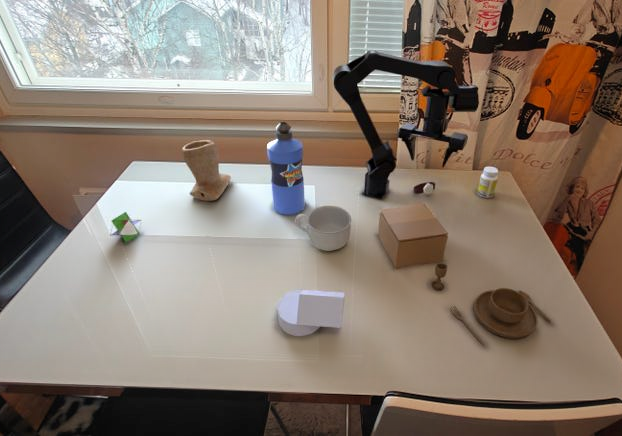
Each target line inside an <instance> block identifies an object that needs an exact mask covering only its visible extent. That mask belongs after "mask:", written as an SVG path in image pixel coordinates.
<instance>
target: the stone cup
mask: <svg viewBox="0 0 622 436" xmlns="http://www.w3.org/2000/svg"><path fill="white" fill-rule="evenodd" d="M181 152H182V157H183V160H184V162H185V164H186V166H187V167H188V169H189V171H190V172H191V174H192V175H193V177H194V179H195V184H194V186H193V187H192V189H191V190H190V192H189V195H190V196H191V197H194V198H196V199H198V200H200V201H205V202H210V201H211V202H212V201H216V200H217V199H219V198H220V196H221V195H222V194H223V192H224V191H225V190H226V189H227V187H228V186H229V184H230V182H231V179H232V176H231V175H230V174H225V173H220V170H219V169H220V168H219V166H220V163H219V162H220V159H219V153H218V150H217V147H216V144H215V143H214V142H213V140H210V139H203V140H195V141H192V142H189V143H187V144H185V145H184V146H183V147H182V149H181Z"/></svg>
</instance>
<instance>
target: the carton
mask: <svg viewBox="0 0 622 436" xmlns="http://www.w3.org/2000/svg"><path fill="white" fill-rule="evenodd" d="M448 235H449V232H448V231H447V230H446V229H445V227H444V226H443V225H442V223H441V222H440V220H438V218H437V217H435V218H431V219H423V220H416V221H409V222H401V223H394V224H389V225H388V223H387V221H386V220H385V218H384V216H383V214H382V213H381V211H379V219H378V231H377V237H378V239H379V240H380V242H381V244H382V246H383V248H384V250H385V252H386V253H387V256H388V257H389V259H390V261H391V263H392V265H393V266H394V268H395V269H400V268H407V267H414V266H420V265H426V264H432V263H440V262H443V260H444V255H445V252H446V246H447V243H448V237H449V236H448Z"/></svg>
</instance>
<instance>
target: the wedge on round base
mask: <svg viewBox="0 0 622 436" xmlns="http://www.w3.org/2000/svg"><path fill="white" fill-rule="evenodd" d="M345 297H346V293H345V292H341V291H340V292H337V291H327V290H326V291H324V290H312V289H311V290H310V289H297V290H292V291H290V292H288V293H286V294H284V295H283V296H282V297H281V298H280V300H279V301H278V303H277V307H276V308H277V309H276V310H277V311H276V312H277V318H278V319H277V320H278V324H279V327H280V328H281V329H282V330H283V332H284V333H286V334H288V335H291V336H293V337H294V336H295V337H305V336H309V335H311V334H314V333H315V332H317V331H318V330H319V329H320V327H324V328H336V329H337V328H338V329H342V326H343V317H344V308H345Z"/></svg>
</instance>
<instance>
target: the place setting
mask: <svg viewBox="0 0 622 436" xmlns="http://www.w3.org/2000/svg"><path fill="white" fill-rule="evenodd" d="M447 271H448V265H447V264H446V263H444V262H436V264H435V268H434V275H435V277H437V278H436V280H434V281H432V282H431V284H430V286H431V288H432V289H433V290H434V291H439V292H440V291H443V290H444V289H445V285H444V283H443V282H442V278H445V277H446V275H447ZM473 307H474V308H473V310H474V313H475V316H476V318H477V320H478V321H479V322H480V324H481V325H482V326H484V327H485V328H486V329H487V330H489V331H490V332H492V333H494V334H496V335H498V336H501V337H504V338H508V339H521V338H522V339H523V338H526V337H528V336H530V335H532V333H534V332H535V330H536V329H537V327H538V323H539V318H538V315H537V312H536V310H537V311H538V312H539V314H540V315H541V316H543V318H544V319H546V321H548V322H549V323H550V322H552V320H551V319H550V318H549V317H548V316H547V314H546V313H544V311H542V310H541V308H539V307H538V306H537V305H536V304H535V303H534V302H533V301H532V298H531V297H530V295H528V294H527V292H524V291H522V290H517V291H516V290H514V289H511V288H506V287H501V288H500V287H499V288H497V289H490V290H486V291H484V292H481V293H480V294H479V295H477V297H476V299H475V301H474V306H473ZM533 307H534V308H535V309H536V310H535V309H534V308H533ZM449 309H450V310H451V312H452V314H453V316H454V317H455V318H456V319H457V320H459V321H461V322H462V323H463V324H464V325H465V326H466V328H467V329H468V330H469V332H470V333H472V335H473V337H474V338H476V339H477V340H478V342H480V344H481V345H482V346H485V343H484V342H483V340H482V339H481V338H480V337H479V336H478V334H477V333H476V332H475V331H474V329H472V327H471V326H470V325H469V324H468V323H467V321H466V320H465V319H464V318H463V315H462V314H461V313H460V311H459V310H458V308H457V307H456V306H452V307H449Z"/></svg>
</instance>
